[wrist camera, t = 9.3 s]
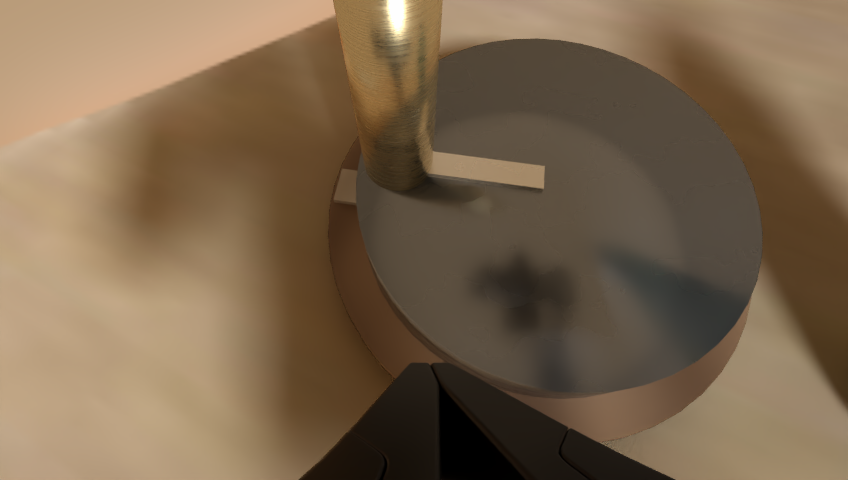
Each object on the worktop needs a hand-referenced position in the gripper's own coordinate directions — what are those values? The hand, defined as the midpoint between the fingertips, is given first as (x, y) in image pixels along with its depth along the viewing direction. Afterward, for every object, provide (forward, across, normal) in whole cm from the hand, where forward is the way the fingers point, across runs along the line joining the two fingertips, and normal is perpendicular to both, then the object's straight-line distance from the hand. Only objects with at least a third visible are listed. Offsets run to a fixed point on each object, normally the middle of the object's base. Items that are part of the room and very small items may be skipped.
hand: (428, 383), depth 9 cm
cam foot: (+10, +6, +1) cm, 12 cm away
